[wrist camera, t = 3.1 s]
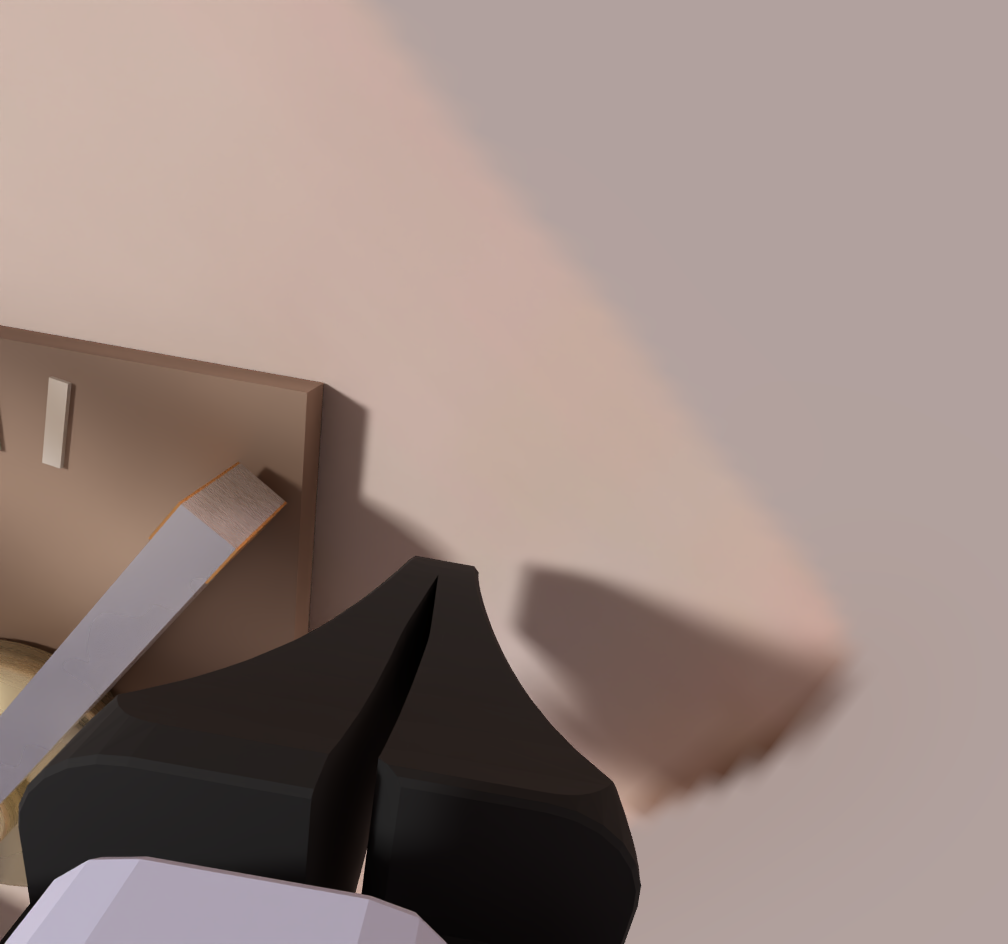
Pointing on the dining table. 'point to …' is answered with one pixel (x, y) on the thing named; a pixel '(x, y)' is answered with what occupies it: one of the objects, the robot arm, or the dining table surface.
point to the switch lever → (116, 636)
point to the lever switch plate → (148, 493)
